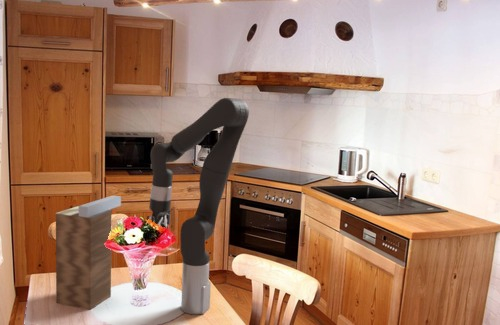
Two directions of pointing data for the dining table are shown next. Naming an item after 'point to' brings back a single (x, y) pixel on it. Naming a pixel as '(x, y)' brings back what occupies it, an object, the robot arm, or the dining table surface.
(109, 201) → the lever
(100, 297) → the wooden block
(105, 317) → the dining table surface
